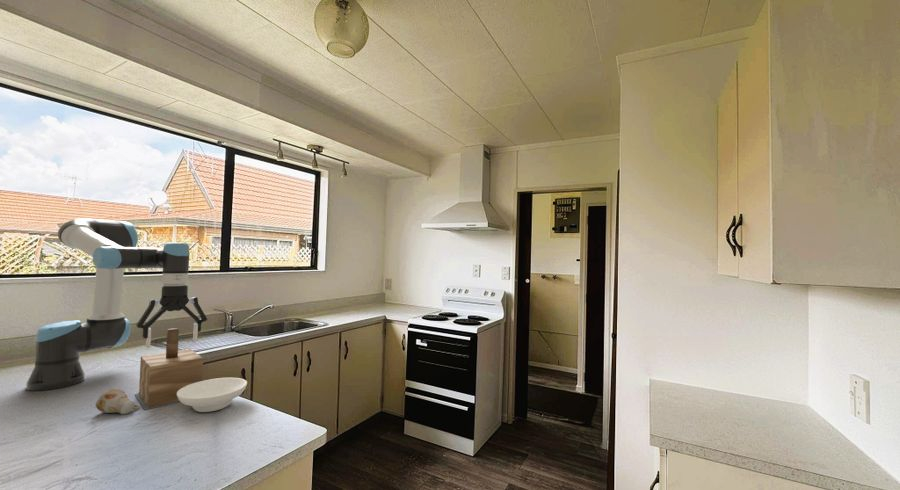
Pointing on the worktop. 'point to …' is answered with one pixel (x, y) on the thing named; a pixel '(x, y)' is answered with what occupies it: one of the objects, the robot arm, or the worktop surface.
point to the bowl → (211, 393)
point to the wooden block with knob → (168, 372)
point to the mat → (152, 406)
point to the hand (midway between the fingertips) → (172, 344)
